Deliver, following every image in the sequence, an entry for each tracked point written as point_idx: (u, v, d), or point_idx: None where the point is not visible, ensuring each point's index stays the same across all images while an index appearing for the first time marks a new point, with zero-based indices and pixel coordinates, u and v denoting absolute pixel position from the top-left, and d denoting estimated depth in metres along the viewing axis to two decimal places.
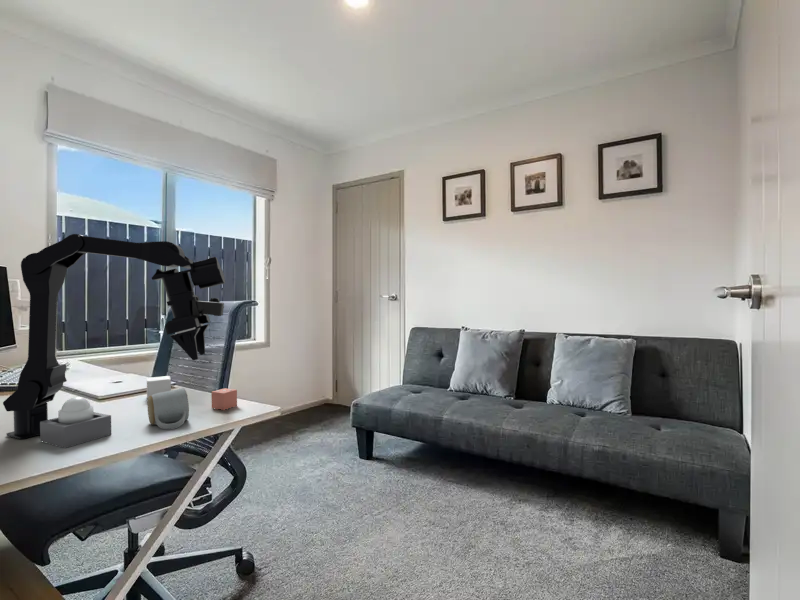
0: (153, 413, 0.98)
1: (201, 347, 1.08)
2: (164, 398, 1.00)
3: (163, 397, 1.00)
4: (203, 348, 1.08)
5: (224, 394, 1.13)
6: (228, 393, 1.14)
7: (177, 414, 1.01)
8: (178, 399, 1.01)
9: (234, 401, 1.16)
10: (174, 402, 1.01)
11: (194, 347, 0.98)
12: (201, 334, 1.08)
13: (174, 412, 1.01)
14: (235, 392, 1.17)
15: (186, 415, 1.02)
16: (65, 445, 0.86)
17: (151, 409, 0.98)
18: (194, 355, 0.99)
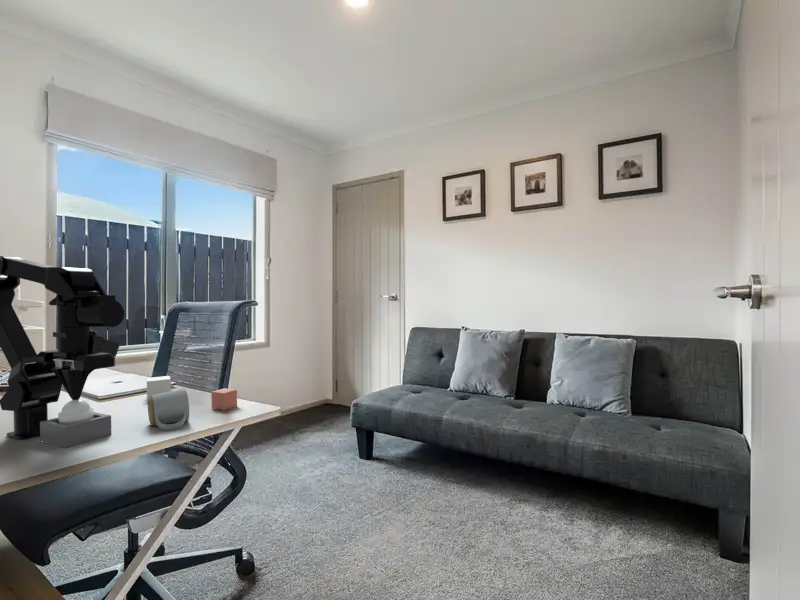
0: (153, 413, 0.98)
1: None
2: (165, 398, 1.00)
3: (163, 398, 1.00)
4: None
5: (224, 394, 1.13)
6: (228, 393, 1.14)
7: (177, 415, 1.00)
8: (178, 399, 1.01)
9: (234, 401, 1.16)
10: (174, 403, 1.00)
11: (82, 385, 0.92)
12: None
13: (174, 413, 1.00)
14: (235, 392, 1.17)
15: (186, 416, 1.02)
16: (65, 445, 0.86)
17: (151, 410, 0.98)
18: (78, 394, 0.92)
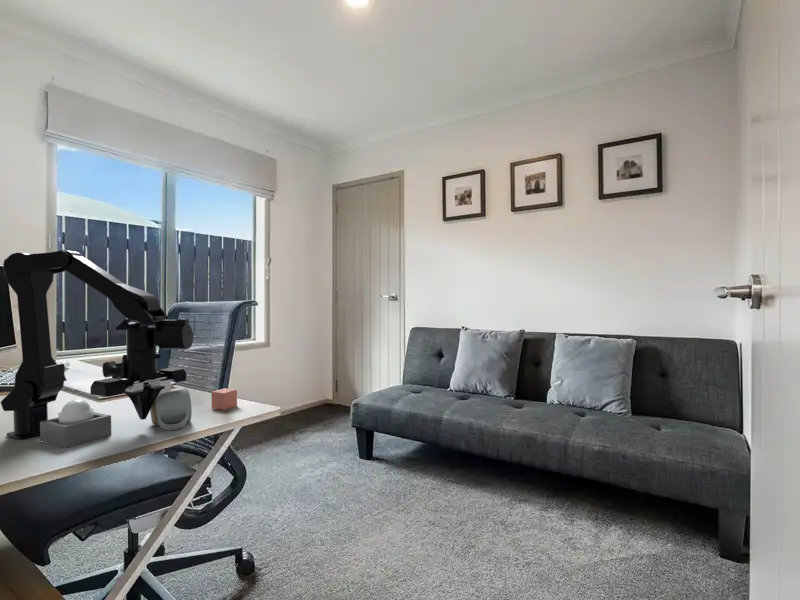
0: (155, 413, 0.97)
1: None
2: (167, 398, 1.00)
3: (166, 397, 1.00)
4: None
5: (224, 394, 1.13)
6: (228, 393, 1.14)
7: (180, 415, 1.00)
8: (180, 399, 1.00)
9: (234, 401, 1.16)
10: (177, 403, 1.00)
11: None
12: None
13: (177, 413, 1.00)
14: (235, 392, 1.17)
15: (189, 416, 1.01)
16: (65, 445, 0.86)
17: (153, 410, 0.97)
18: None
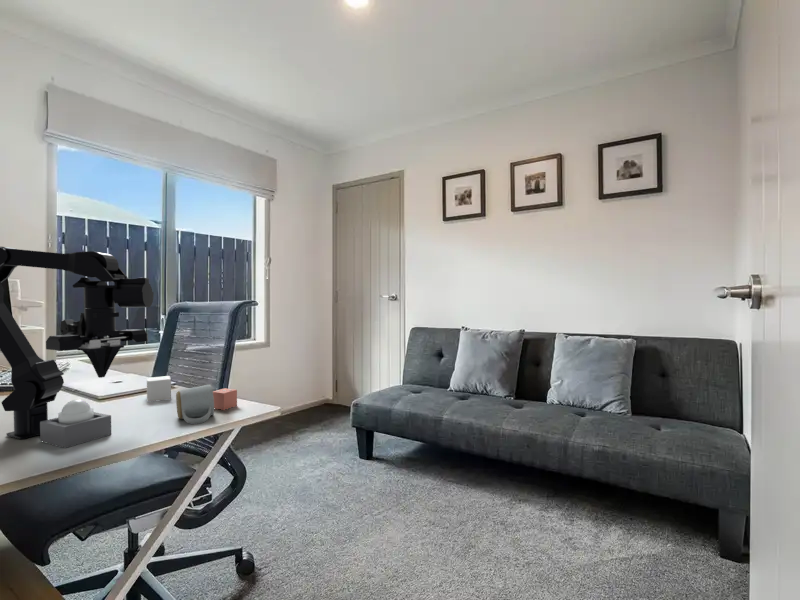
0: (180, 407, 1.03)
1: None
2: (191, 393, 1.05)
3: (190, 393, 1.05)
4: None
5: (224, 394, 1.13)
6: (228, 393, 1.14)
7: (203, 409, 1.05)
8: (204, 395, 1.05)
9: (234, 401, 1.16)
10: (200, 398, 1.05)
11: None
12: None
13: (200, 407, 1.04)
14: (235, 392, 1.17)
15: (211, 410, 1.06)
16: (65, 445, 0.86)
17: (178, 404, 1.03)
18: None
